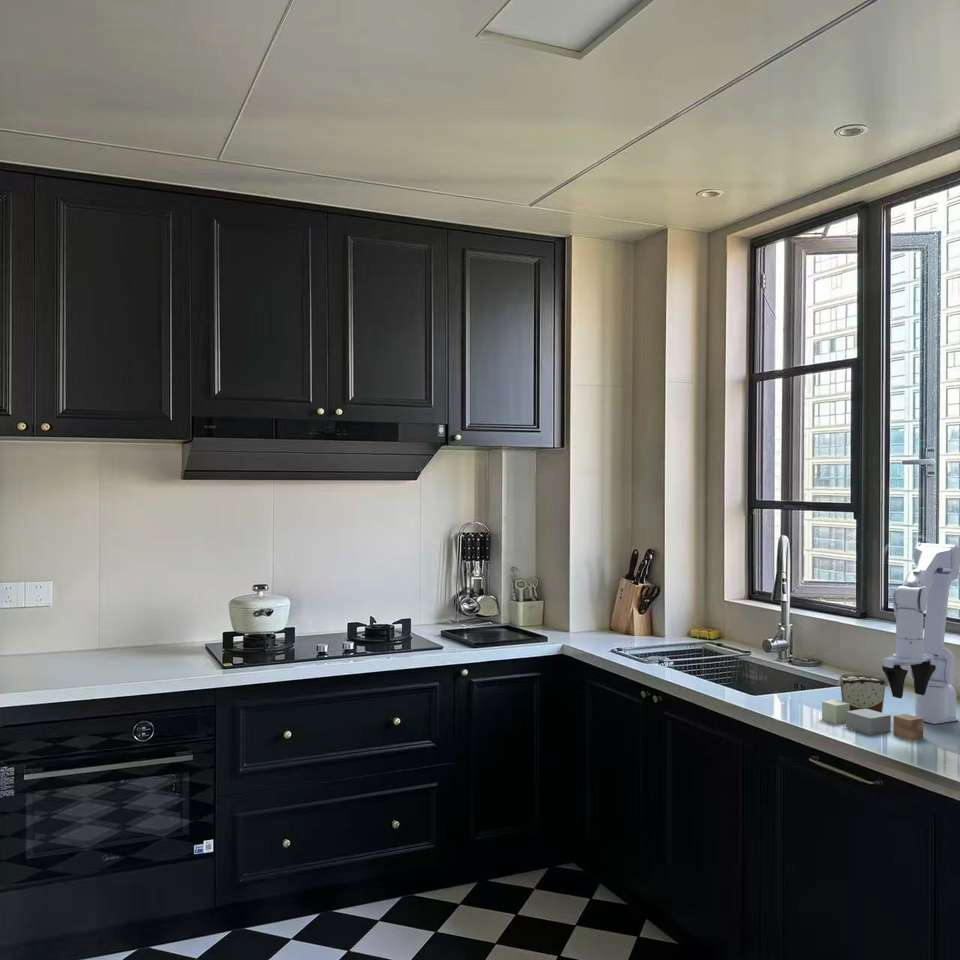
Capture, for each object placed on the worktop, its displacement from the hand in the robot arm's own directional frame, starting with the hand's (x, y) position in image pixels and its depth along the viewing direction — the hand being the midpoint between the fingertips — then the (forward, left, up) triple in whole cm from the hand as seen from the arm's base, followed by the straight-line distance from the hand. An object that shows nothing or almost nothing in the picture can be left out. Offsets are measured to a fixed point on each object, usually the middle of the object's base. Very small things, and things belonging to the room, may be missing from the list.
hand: (908, 695), depth 213 cm
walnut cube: (0, 0, -9) cm, 9 cm away
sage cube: (+5, -17, -9) cm, 20 cm away
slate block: (+4, -8, -10) cm, 13 cm away
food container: (-5, -19, -10) cm, 22 cm away
